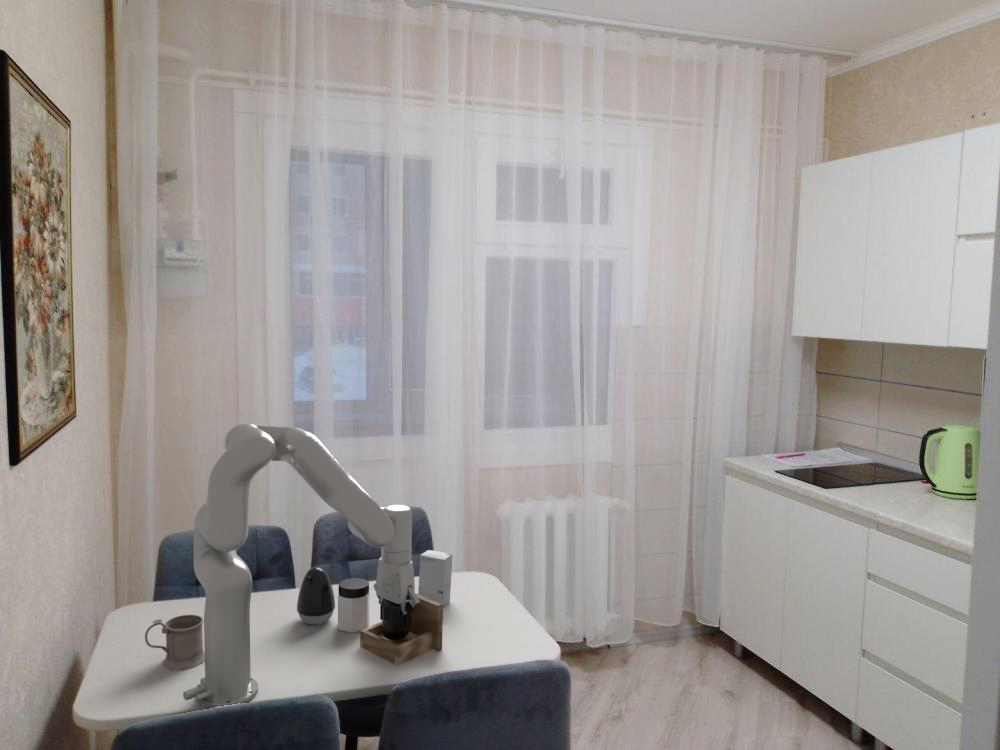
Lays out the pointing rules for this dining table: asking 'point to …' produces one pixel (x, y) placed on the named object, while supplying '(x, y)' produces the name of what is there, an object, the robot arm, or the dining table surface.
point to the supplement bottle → (392, 621)
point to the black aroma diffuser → (315, 597)
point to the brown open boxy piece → (418, 641)
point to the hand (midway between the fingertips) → (395, 622)
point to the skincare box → (435, 576)
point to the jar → (353, 605)
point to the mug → (181, 642)
